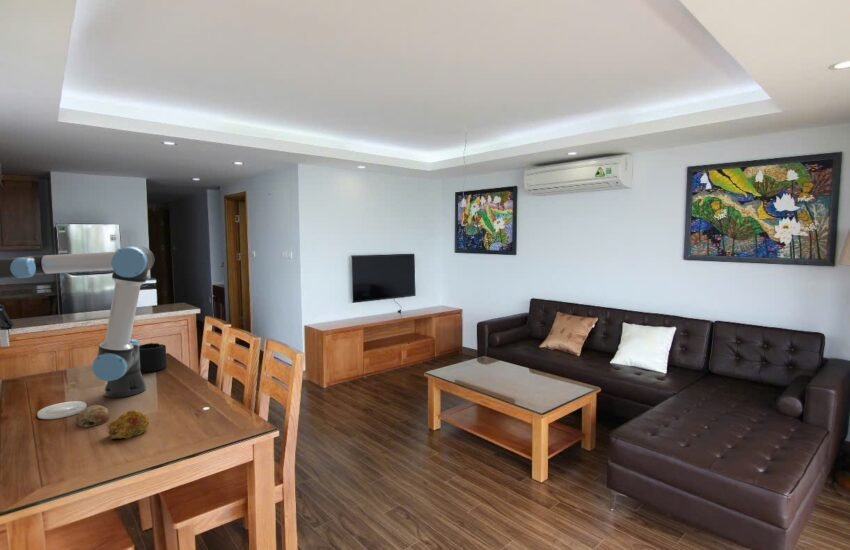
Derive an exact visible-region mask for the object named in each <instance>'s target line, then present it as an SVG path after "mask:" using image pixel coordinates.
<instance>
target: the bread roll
mask: <svg viewBox="0 0 850 550" xmlns="http://www.w3.org/2000/svg"><path fill="white" fill-rule="evenodd" d="M109 412H110V411H109V409H108V408H107V407H105V406H102V405H101V404H100V405H99V404H92V405H90V406H87V408H85V409H84V410H81V411H80V412H79V413H78V414H76V418H75V421H76V424H77V426H79V427H81V428H82V427H83V428H89V427H94V426H97V425H98V426H99V425H102V424H105V423H107V422H108V421H109V419H110V413H109Z"/></svg>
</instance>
